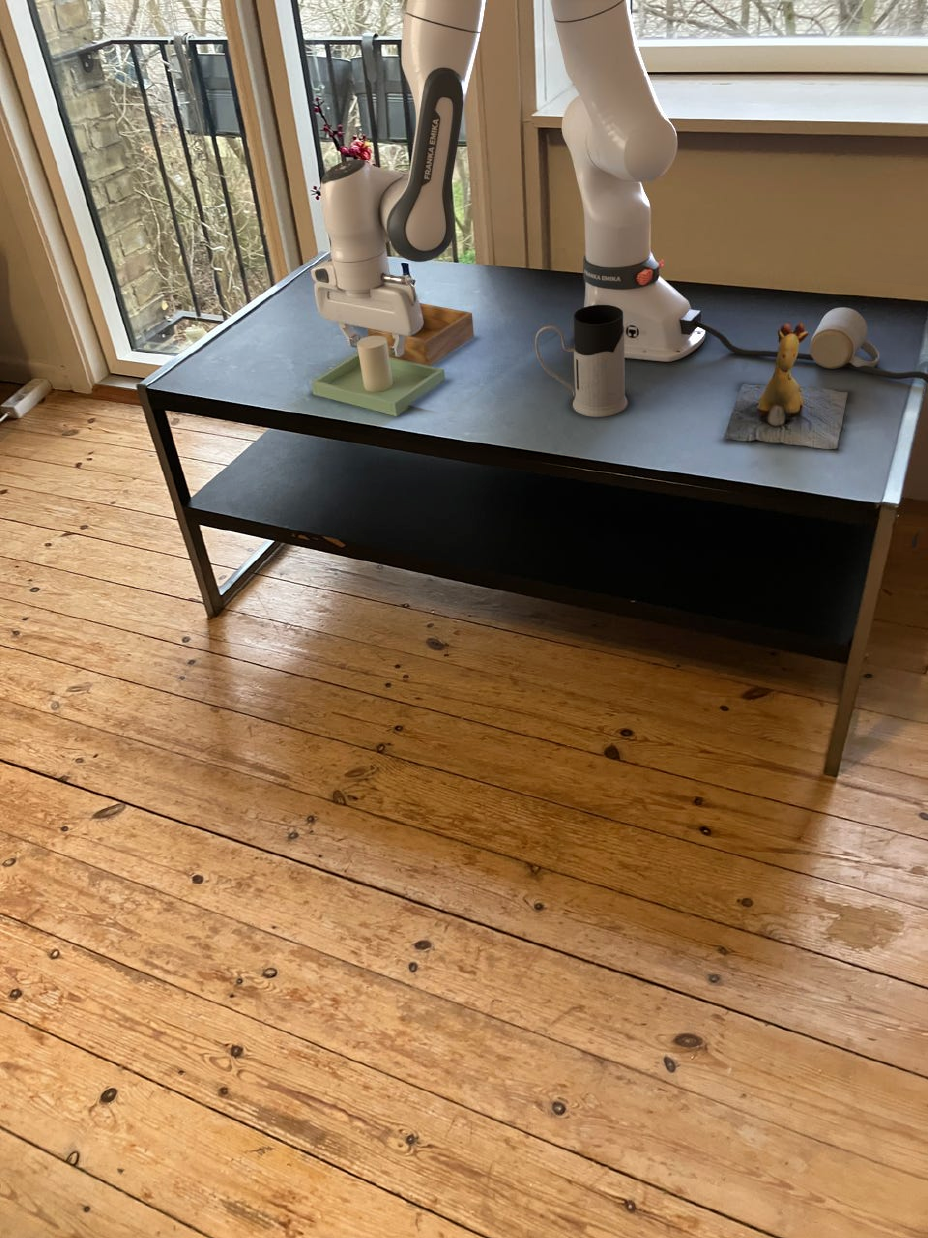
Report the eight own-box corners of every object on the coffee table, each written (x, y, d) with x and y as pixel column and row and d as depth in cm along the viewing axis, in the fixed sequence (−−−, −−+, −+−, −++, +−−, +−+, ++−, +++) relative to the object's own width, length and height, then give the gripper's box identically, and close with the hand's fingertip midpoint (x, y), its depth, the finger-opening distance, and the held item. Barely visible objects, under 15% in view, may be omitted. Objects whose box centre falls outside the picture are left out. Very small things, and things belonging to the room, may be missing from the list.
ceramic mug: (804, 368, 170) (810, 323, 165) (817, 347, 176) (823, 303, 171) (871, 378, 166) (879, 332, 161) (882, 356, 171) (891, 311, 166)
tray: (445, 382, 179) (444, 369, 178) (396, 416, 171) (394, 403, 170) (363, 362, 189) (361, 350, 187) (313, 394, 181) (310, 381, 179)
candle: (398, 381, 180) (392, 338, 175) (380, 394, 177) (373, 350, 172) (376, 376, 182) (369, 333, 177) (358, 388, 179) (350, 344, 174)
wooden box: (474, 339, 192) (471, 312, 189) (430, 369, 184) (426, 342, 181) (416, 327, 199) (412, 301, 196) (371, 355, 191) (367, 329, 188)
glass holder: (630, 414, 164) (630, 323, 155) (540, 421, 165) (534, 331, 156) (624, 389, 171) (624, 300, 162) (538, 395, 172) (532, 308, 163)
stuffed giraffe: (723, 438, 155) (735, 336, 145) (742, 387, 168) (754, 290, 158) (836, 452, 150) (855, 347, 140) (846, 398, 163) (865, 299, 154)
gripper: (424, 270, 164) (436, 352, 172) (328, 255, 174) (343, 333, 183) (399, 285, 160) (413, 368, 169) (302, 269, 170) (320, 348, 179)
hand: (376, 350), depth 176 cm, fingers open, 8 cm apart
